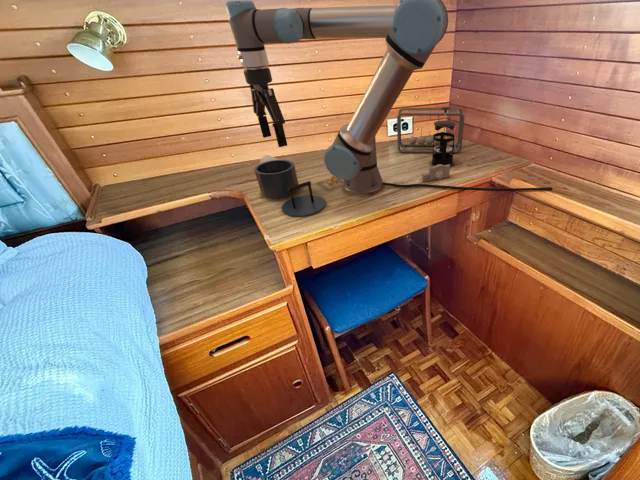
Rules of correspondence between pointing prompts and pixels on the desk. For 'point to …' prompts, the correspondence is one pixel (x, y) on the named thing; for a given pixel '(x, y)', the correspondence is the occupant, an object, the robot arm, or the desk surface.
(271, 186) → the pot
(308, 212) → the lid
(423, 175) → the garden wall model
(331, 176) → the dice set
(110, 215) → the desk surface
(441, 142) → the french press
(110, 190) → the desk surface
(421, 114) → the newton's cradle
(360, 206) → the desk surface
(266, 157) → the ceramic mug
